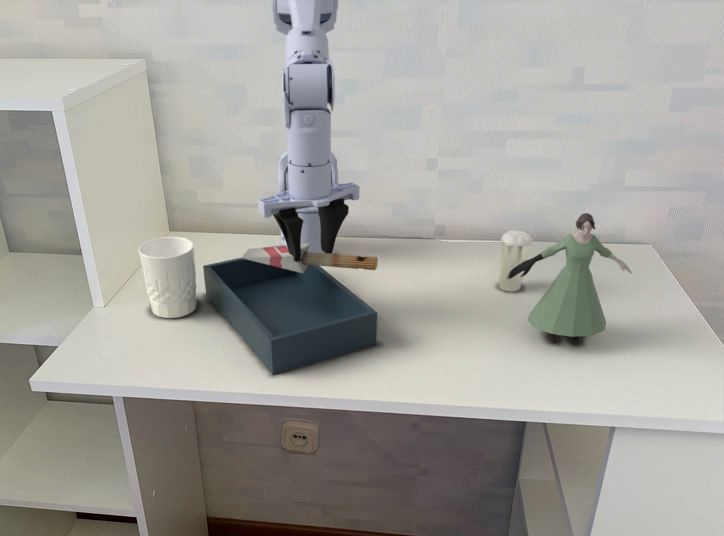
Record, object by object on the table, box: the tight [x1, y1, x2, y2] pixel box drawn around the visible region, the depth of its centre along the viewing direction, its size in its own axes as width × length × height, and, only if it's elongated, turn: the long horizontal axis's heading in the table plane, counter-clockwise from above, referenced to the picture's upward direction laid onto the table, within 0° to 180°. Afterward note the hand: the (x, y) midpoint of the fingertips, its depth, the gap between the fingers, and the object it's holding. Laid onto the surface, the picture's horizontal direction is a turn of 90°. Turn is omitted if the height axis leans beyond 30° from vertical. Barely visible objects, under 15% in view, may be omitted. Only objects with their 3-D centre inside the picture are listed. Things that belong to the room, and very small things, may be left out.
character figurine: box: [506, 212, 632, 345], centre depth 93 cm, size 16×8×18 cm, turn 83°
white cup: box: [138, 236, 198, 319], centre depth 105 cm, size 8×8×10 cm
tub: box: [202, 257, 378, 375], centre depth 102 cm, size 26×16×5 cm, turn 26°
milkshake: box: [498, 229, 538, 292], centre depth 108 cm, size 4×5×10 cm
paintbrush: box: [240, 243, 379, 273], centre depth 100 cm, size 4×3×20 cm
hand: (310, 255), depth 100 cm, fingers closed on paintbrush, 4 cm apart
